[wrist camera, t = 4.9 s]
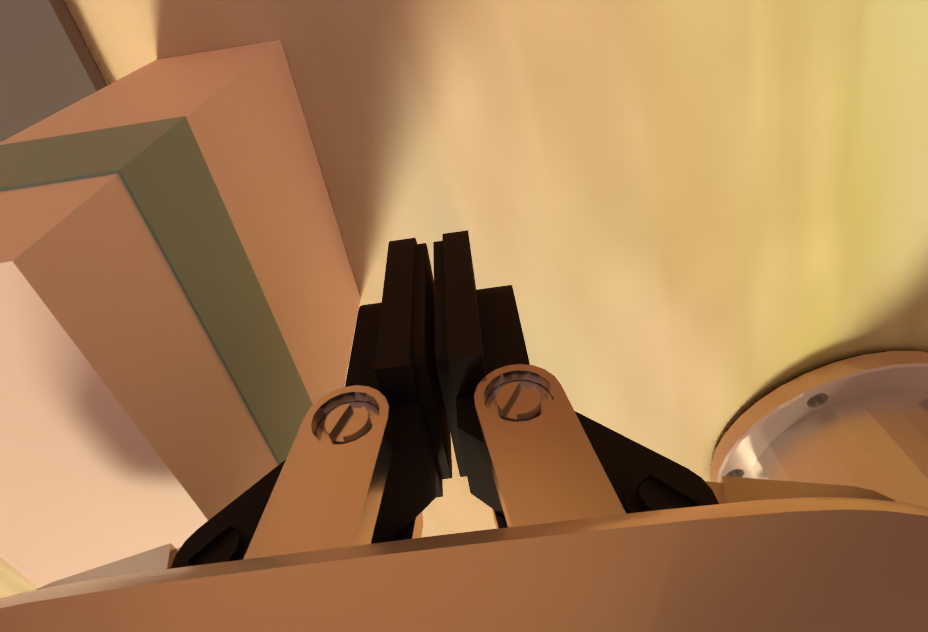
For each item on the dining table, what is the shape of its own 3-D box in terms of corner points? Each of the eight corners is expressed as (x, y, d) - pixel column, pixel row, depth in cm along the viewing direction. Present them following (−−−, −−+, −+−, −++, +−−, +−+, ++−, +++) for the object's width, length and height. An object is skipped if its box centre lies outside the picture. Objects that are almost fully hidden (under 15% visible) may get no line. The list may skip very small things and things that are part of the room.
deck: (281, 37, 15) (13, 255, 5) (362, 299, 20) (300, 638, 11) (154, 58, 15) (-324, 306, 6) (267, 312, 21) (125, 658, 11)
